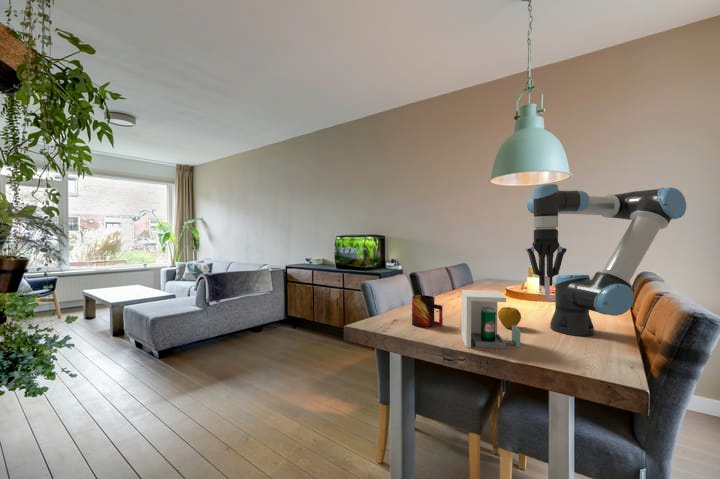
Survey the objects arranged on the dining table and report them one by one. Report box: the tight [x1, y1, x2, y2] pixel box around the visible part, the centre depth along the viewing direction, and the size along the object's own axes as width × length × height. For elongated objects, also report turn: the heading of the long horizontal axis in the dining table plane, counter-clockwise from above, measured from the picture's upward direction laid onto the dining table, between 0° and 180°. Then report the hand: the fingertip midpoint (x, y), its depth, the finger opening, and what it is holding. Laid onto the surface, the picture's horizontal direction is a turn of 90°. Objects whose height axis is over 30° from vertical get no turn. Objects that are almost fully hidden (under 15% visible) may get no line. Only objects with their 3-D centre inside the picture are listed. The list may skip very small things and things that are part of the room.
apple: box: [497, 306, 522, 330], centre depth 139 cm, size 9×9×9 cm
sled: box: [471, 325, 521, 349], centre depth 120 cm, size 15×10×6 cm
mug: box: [411, 294, 444, 329], centre depth 143 cm, size 10×14×12 cm
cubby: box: [461, 289, 507, 349], centre depth 120 cm, size 13×13×18 cm
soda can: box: [481, 307, 496, 342], centre depth 120 cm, size 5×5×12 cm
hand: (545, 294), depth 116 cm, fingers closed
